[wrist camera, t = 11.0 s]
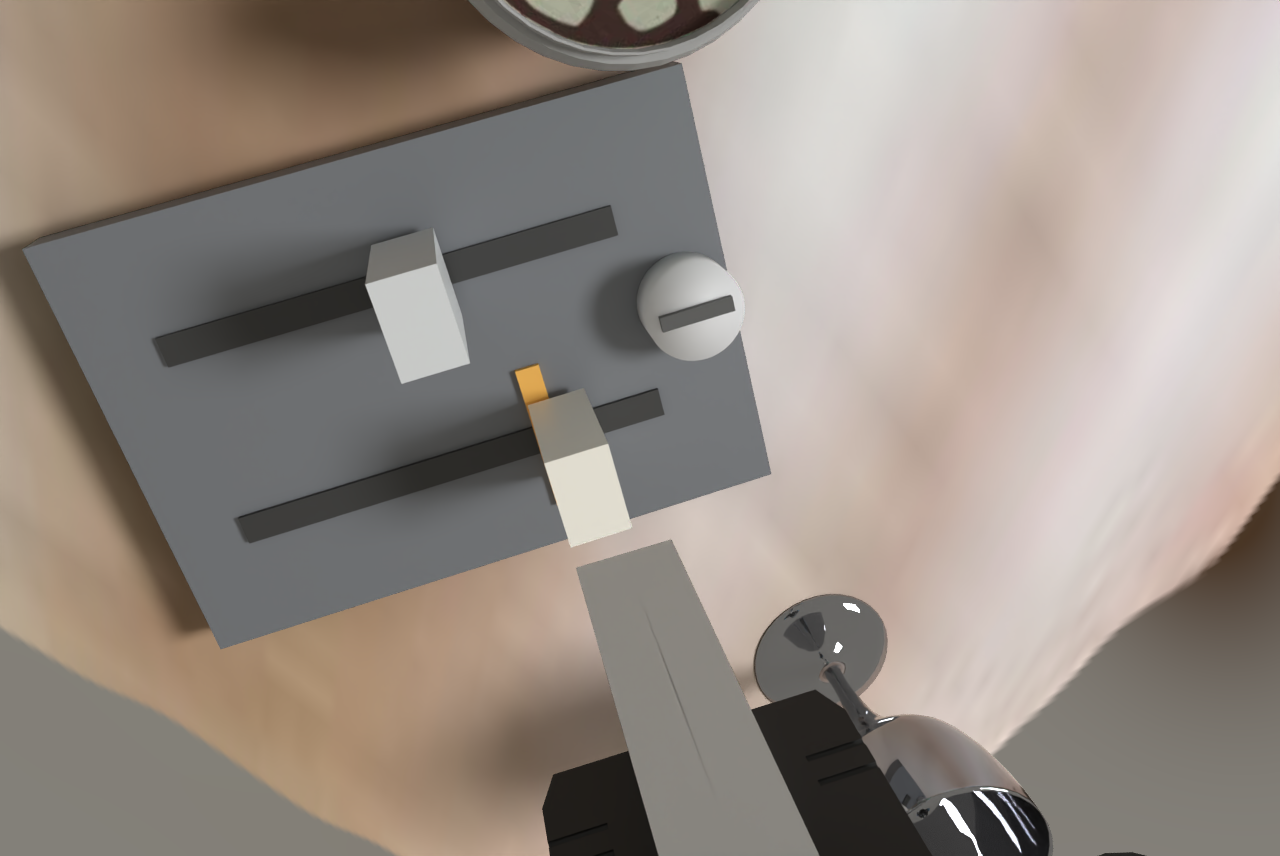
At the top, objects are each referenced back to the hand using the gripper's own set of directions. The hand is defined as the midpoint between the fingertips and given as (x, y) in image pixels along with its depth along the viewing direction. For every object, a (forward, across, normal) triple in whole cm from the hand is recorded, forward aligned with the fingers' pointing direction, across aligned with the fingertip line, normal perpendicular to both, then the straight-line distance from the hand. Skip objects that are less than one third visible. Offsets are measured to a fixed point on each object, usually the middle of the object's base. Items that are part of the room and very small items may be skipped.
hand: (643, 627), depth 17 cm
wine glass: (+30, +10, -26) cm, 40 cm away
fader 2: (+27, 0, -9) cm, 29 cm away
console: (+30, -4, -5) cm, 30 cm away
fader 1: (+27, -3, -1) cm, 27 cm away
